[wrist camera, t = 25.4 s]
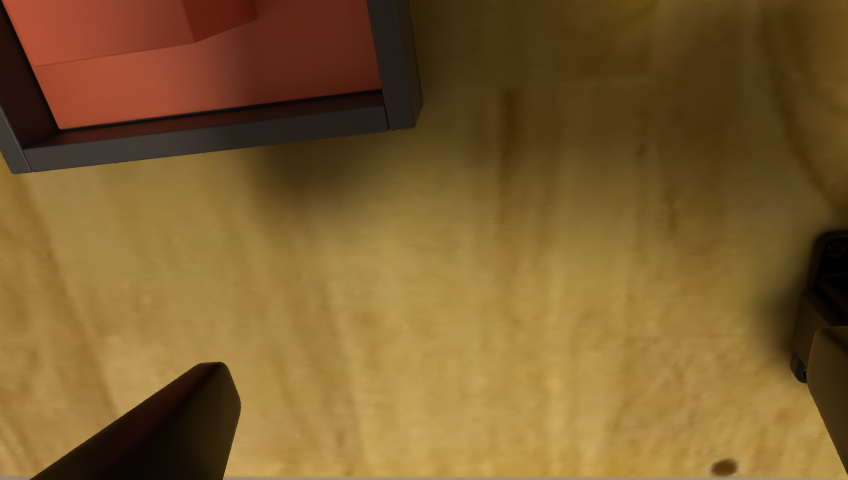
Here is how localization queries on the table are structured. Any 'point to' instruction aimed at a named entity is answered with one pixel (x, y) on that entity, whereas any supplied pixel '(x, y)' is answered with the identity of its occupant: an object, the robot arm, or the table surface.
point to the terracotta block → (119, 25)
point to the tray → (215, 88)
